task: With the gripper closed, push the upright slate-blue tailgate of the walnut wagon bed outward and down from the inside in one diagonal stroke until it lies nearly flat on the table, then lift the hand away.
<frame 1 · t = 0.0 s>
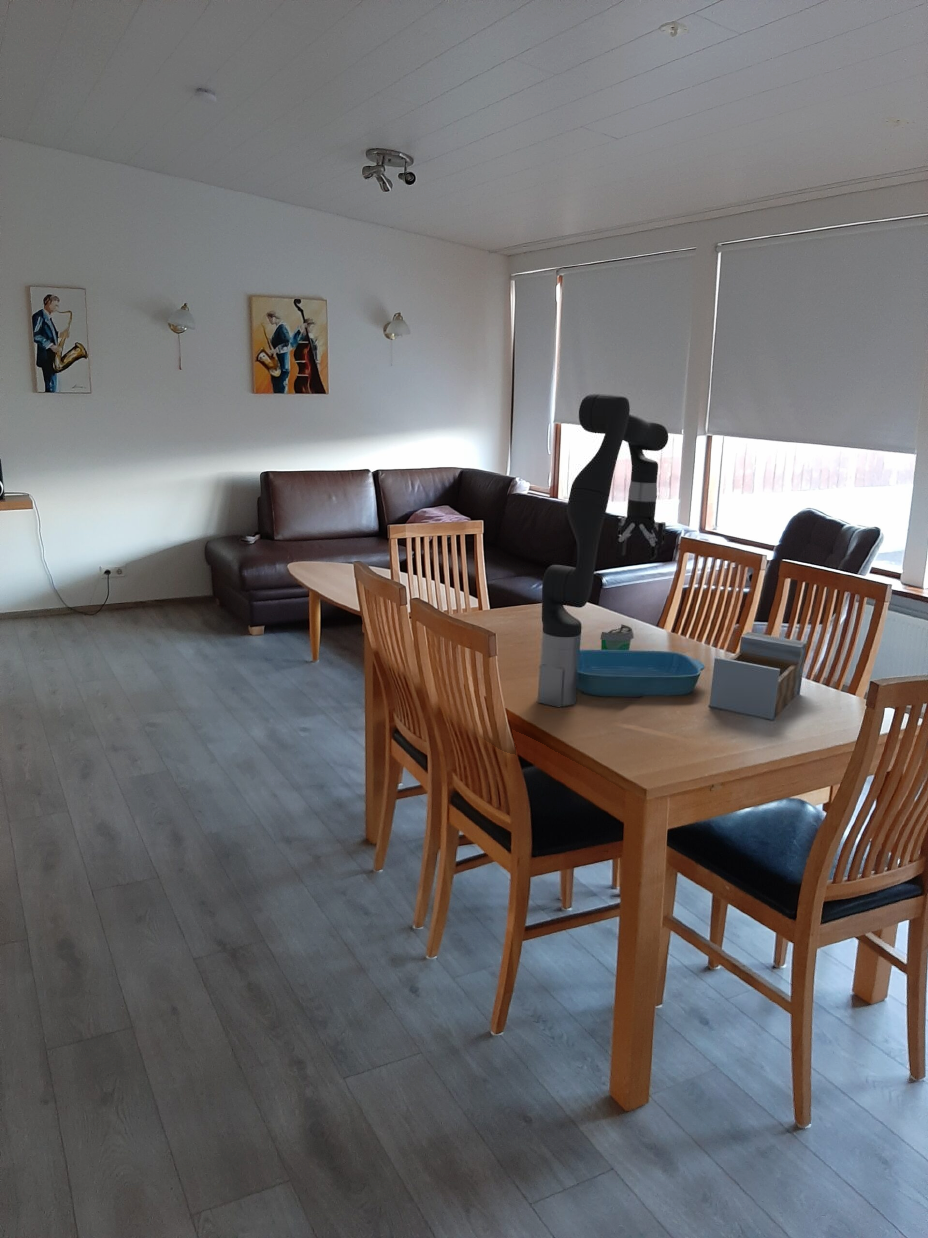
hand: (637, 557, 260), 29 cm above the table, fingers open, 8 cm apart
tailgate: (743, 689, 222), point 7 cm above the table, hinge at 0.0°
casserole dish: (630, 688, 243), on the table
food container: (618, 665, 261), on the table
wagon bed: (753, 704, 233), on the table
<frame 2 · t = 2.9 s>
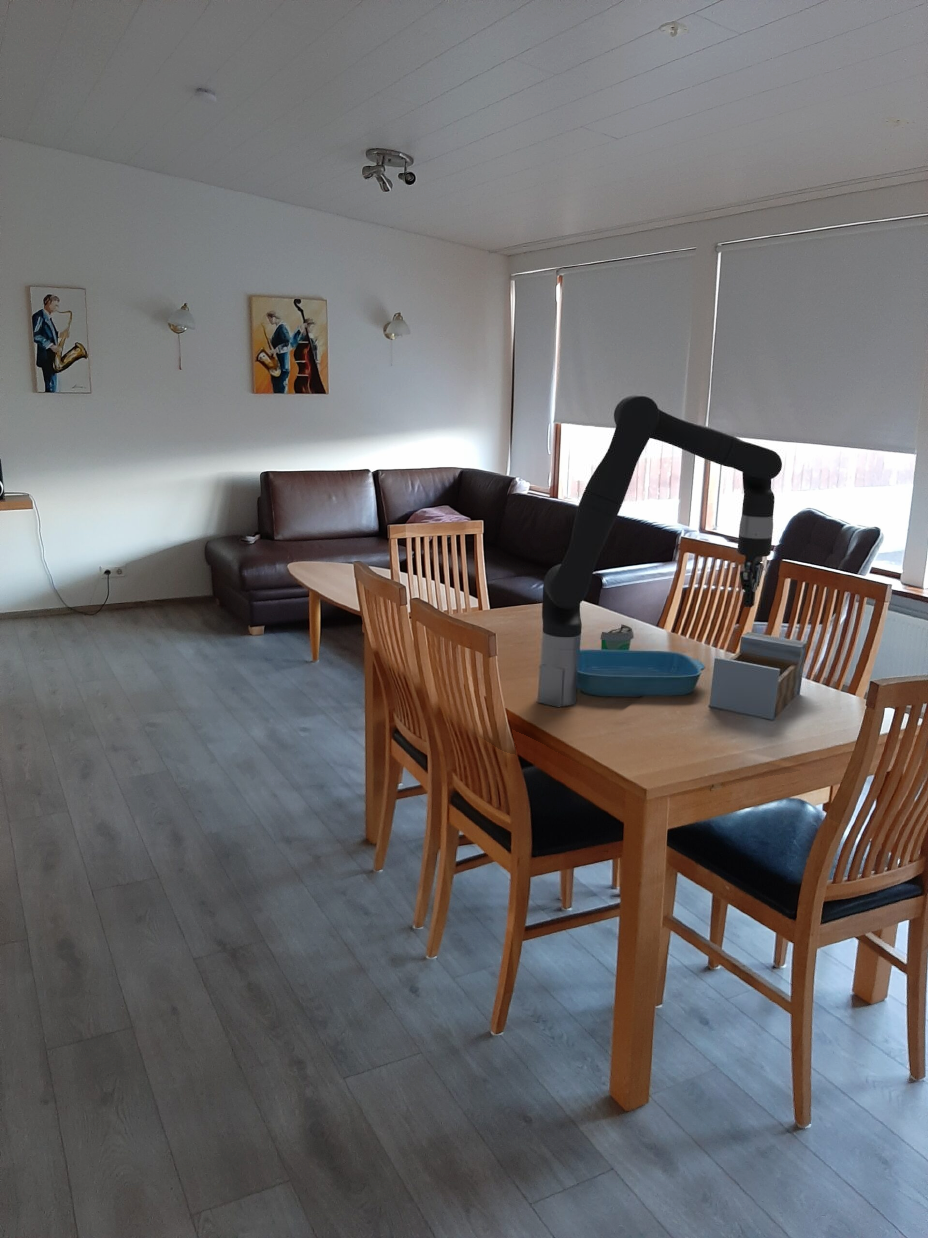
hand: (748, 606, 225), 25 cm above the table, fingers closed
nothing on the table moved.
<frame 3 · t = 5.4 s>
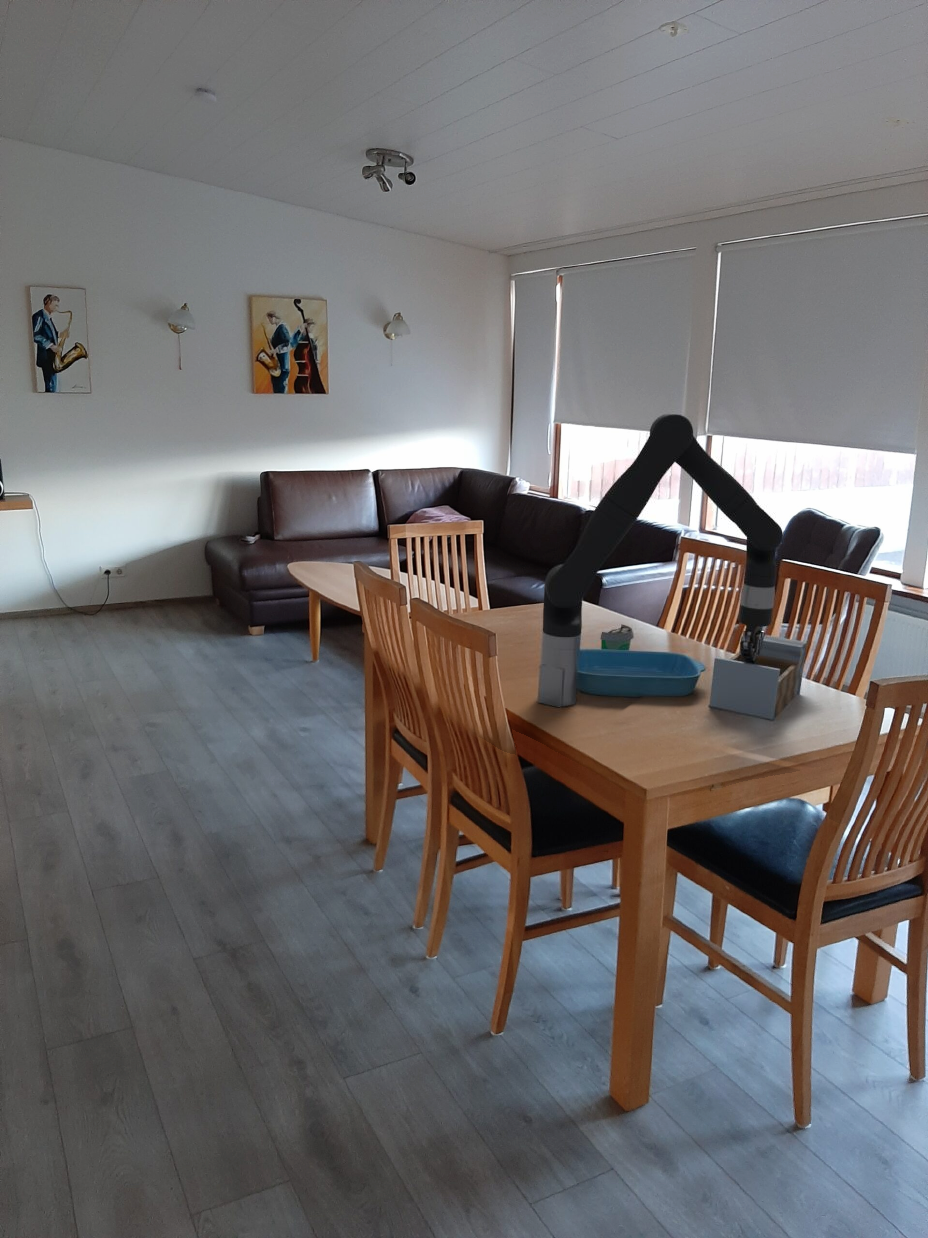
hand: (748, 674, 224), 10 cm above the table, fingers closed
tailgate: (743, 689, 222), point 7 cm above the table, hinge at 0.1°, touching gripper
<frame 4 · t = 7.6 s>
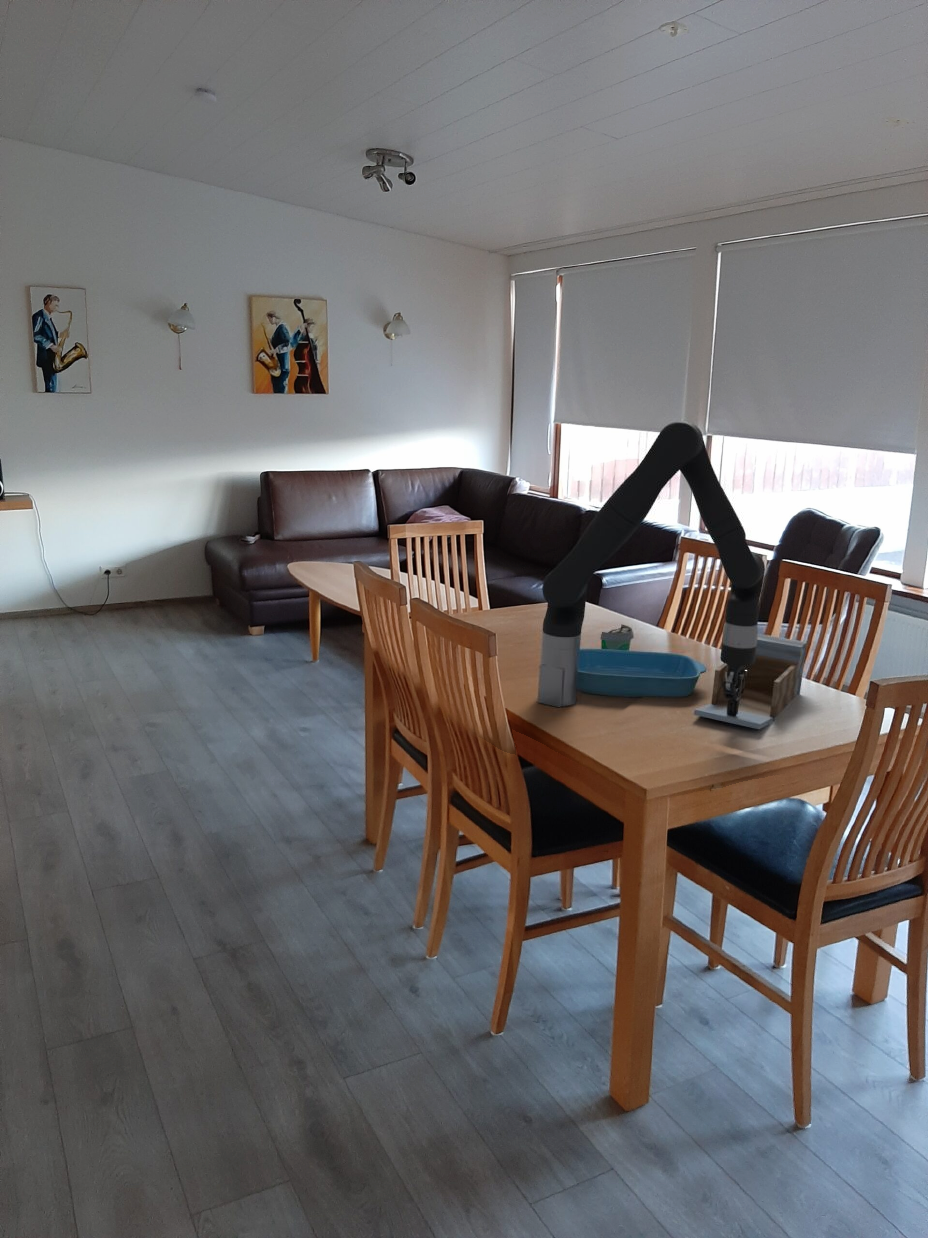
hand: (732, 714, 215), 3 cm above the table, fingers closed
tailgate: (734, 716, 218), point 2 cm above the table, hinge at 80.7°
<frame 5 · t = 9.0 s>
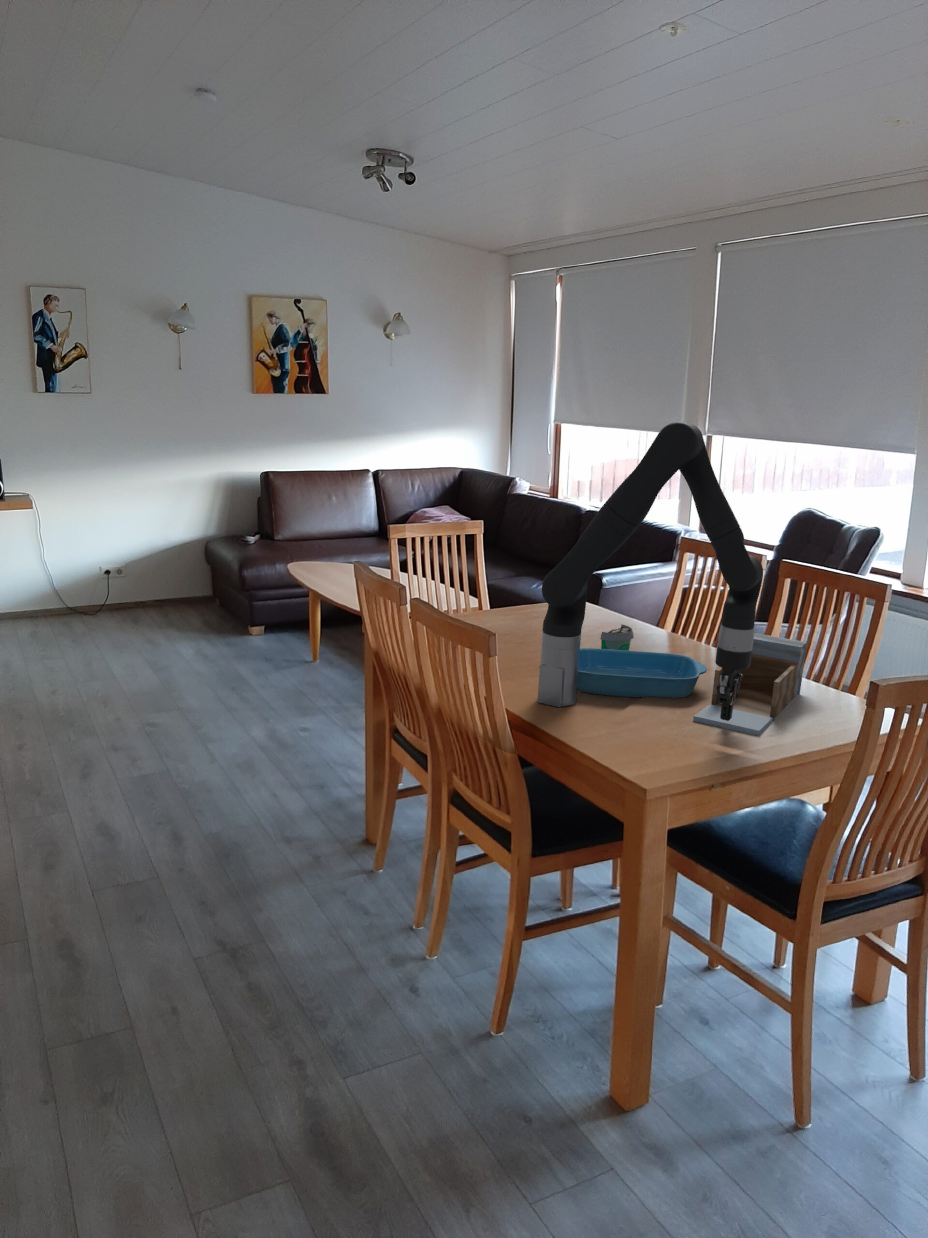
hand: (725, 719, 213), 3 cm above the table, fingers closed
tailgate: (733, 719, 218), point 1 cm above the table, hinge at 87.6°
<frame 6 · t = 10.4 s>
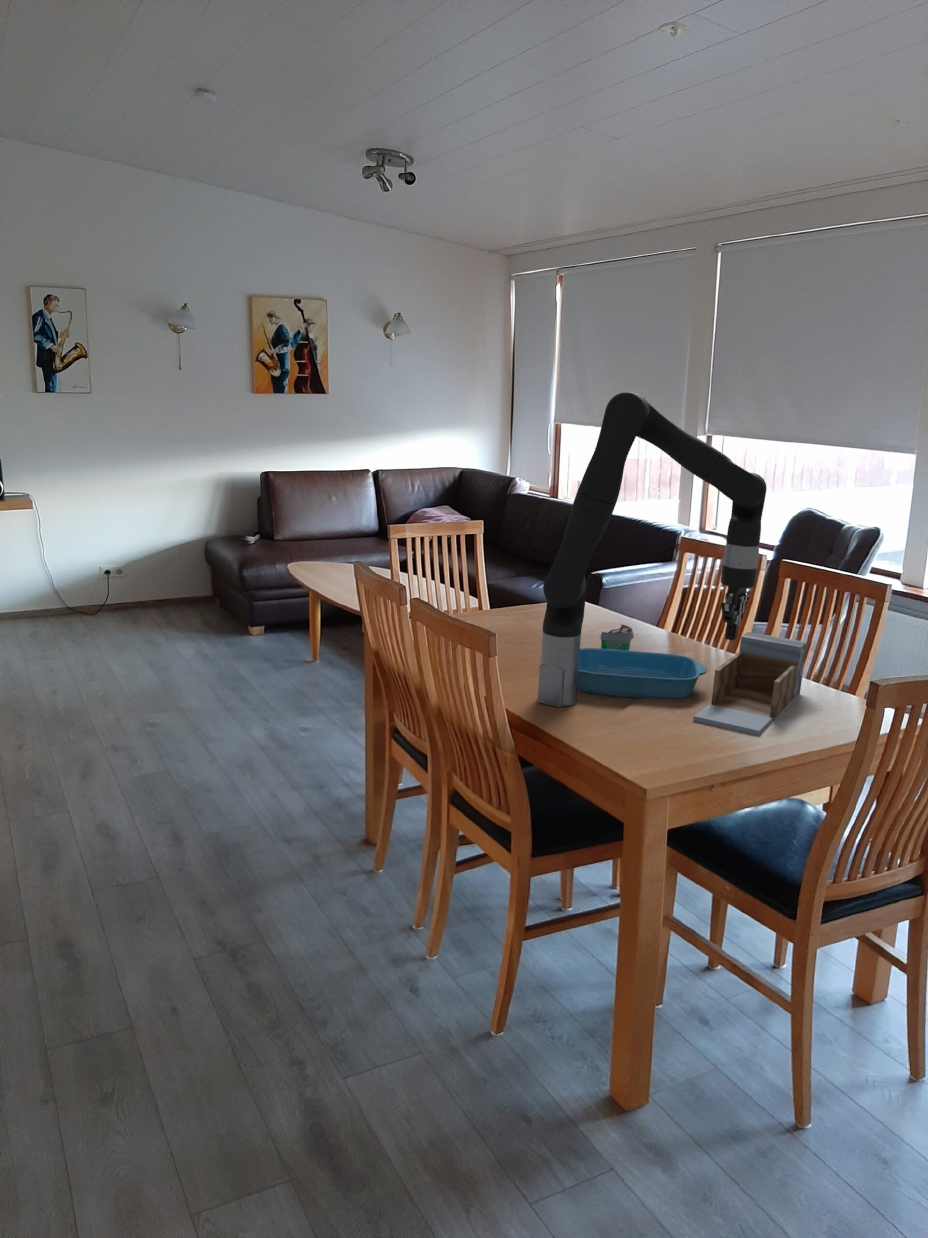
hand: (730, 639, 213), 20 cm above the table, fingers closed
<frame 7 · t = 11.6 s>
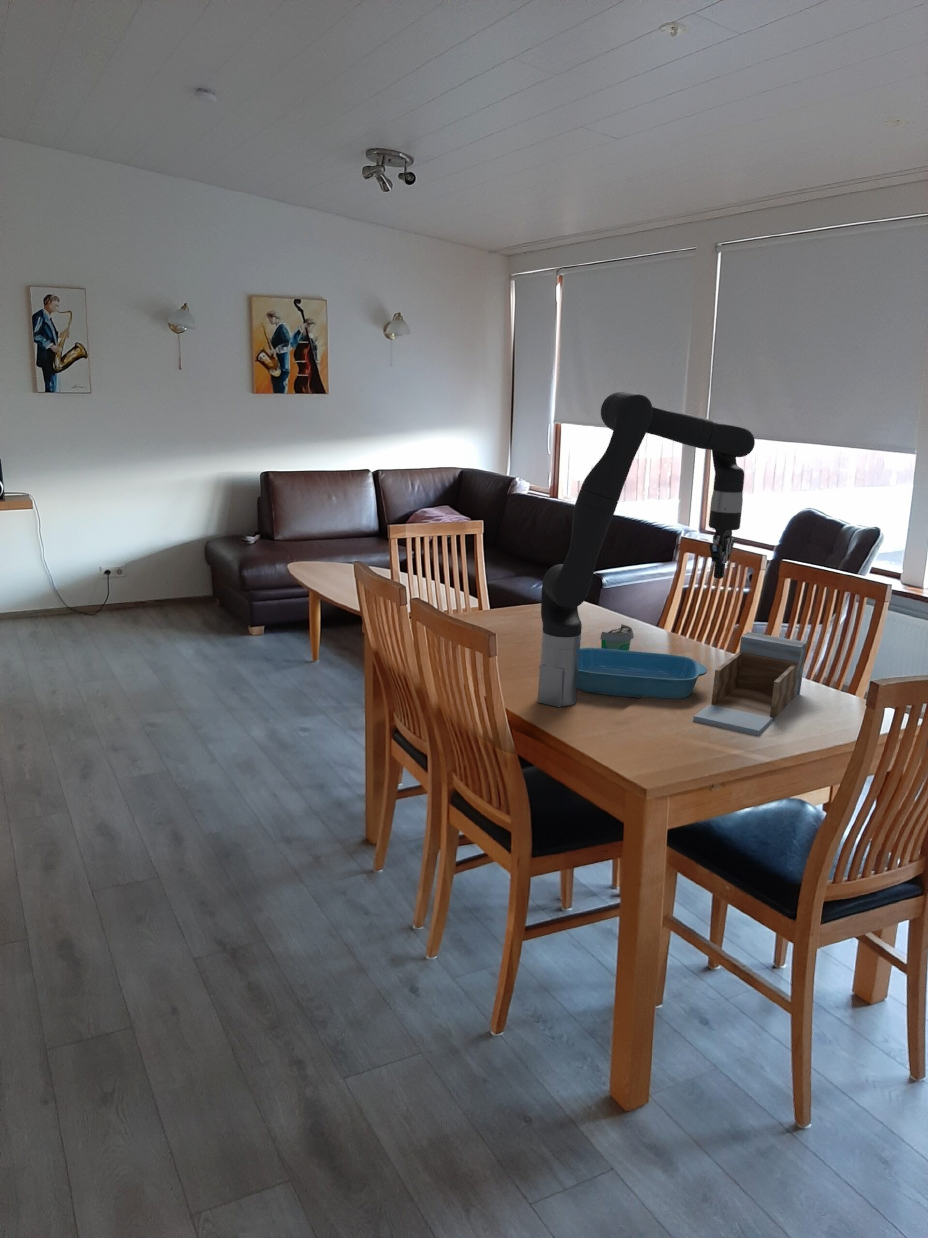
hand: (718, 577, 237), 29 cm above the table, fingers closed
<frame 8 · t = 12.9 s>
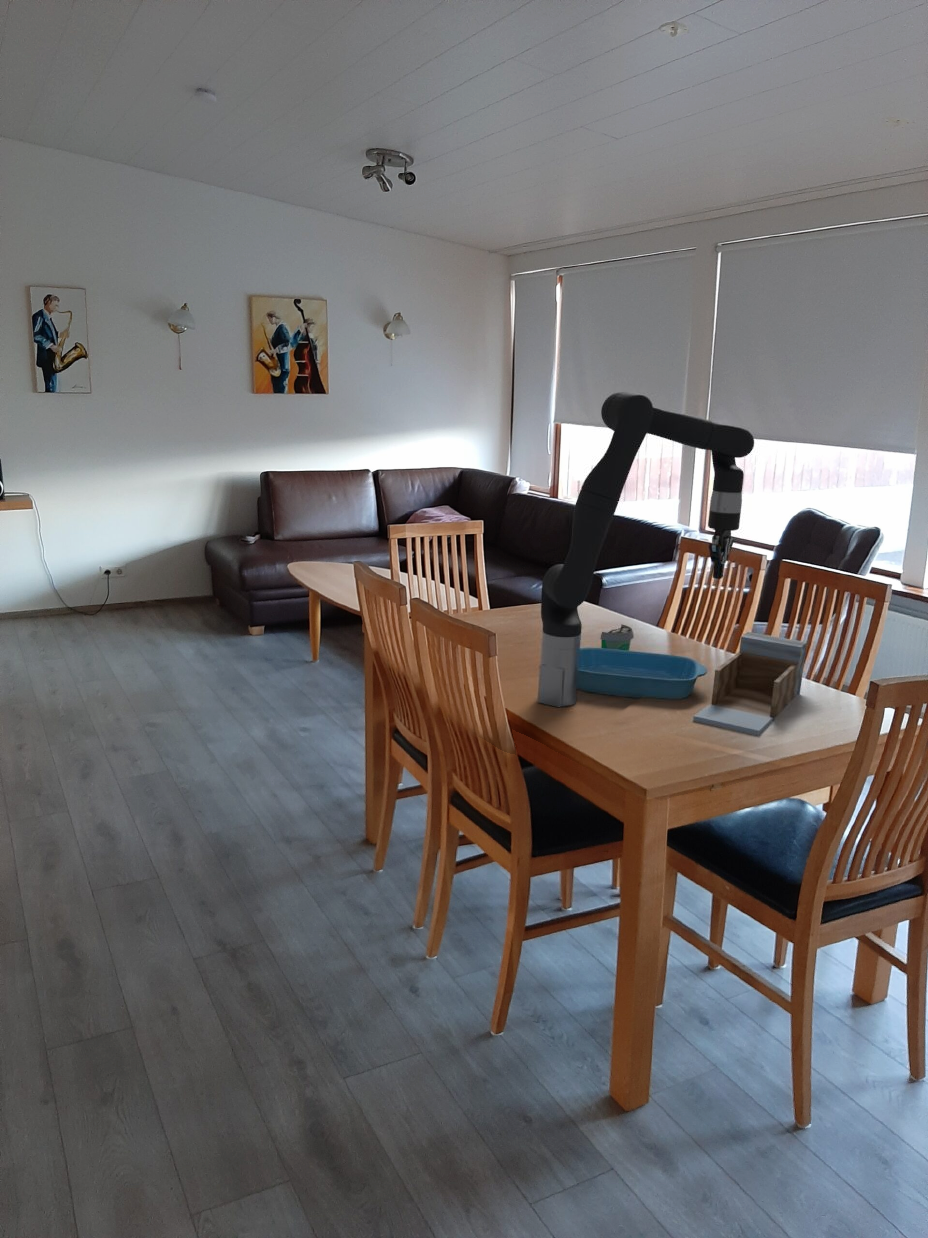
hand: (717, 578, 237), 29 cm above the table, fingers closed
at the end: tailgate at +88° (first picture: +0°) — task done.
